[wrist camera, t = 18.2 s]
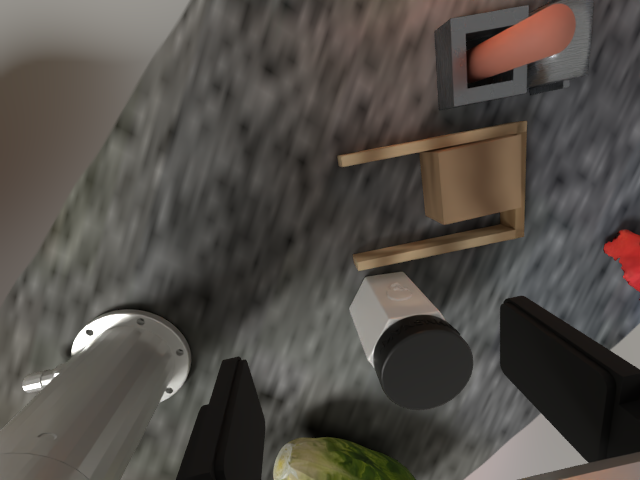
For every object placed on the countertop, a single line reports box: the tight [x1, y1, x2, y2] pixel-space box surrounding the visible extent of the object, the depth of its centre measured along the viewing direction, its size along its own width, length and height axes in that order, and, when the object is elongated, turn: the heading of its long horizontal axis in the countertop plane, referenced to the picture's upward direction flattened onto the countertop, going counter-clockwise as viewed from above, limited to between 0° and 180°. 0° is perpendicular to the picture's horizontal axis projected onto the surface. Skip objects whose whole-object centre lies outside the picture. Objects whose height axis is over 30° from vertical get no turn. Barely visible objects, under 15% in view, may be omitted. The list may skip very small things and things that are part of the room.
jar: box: [349, 272, 473, 410], centre depth 31 cm, size 9×8×12 cm
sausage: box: [466, 4, 576, 83], centre depth 25 cm, size 3×3×10 cm
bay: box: [337, 121, 527, 271], centre depth 32 cm, size 18×12×2 cm, turn 100°
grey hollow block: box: [435, 0, 594, 110], centre depth 28 cm, size 12×7×5 cm, turn 100°
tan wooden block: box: [419, 134, 521, 225], centre depth 31 cm, size 8×7×4 cm
